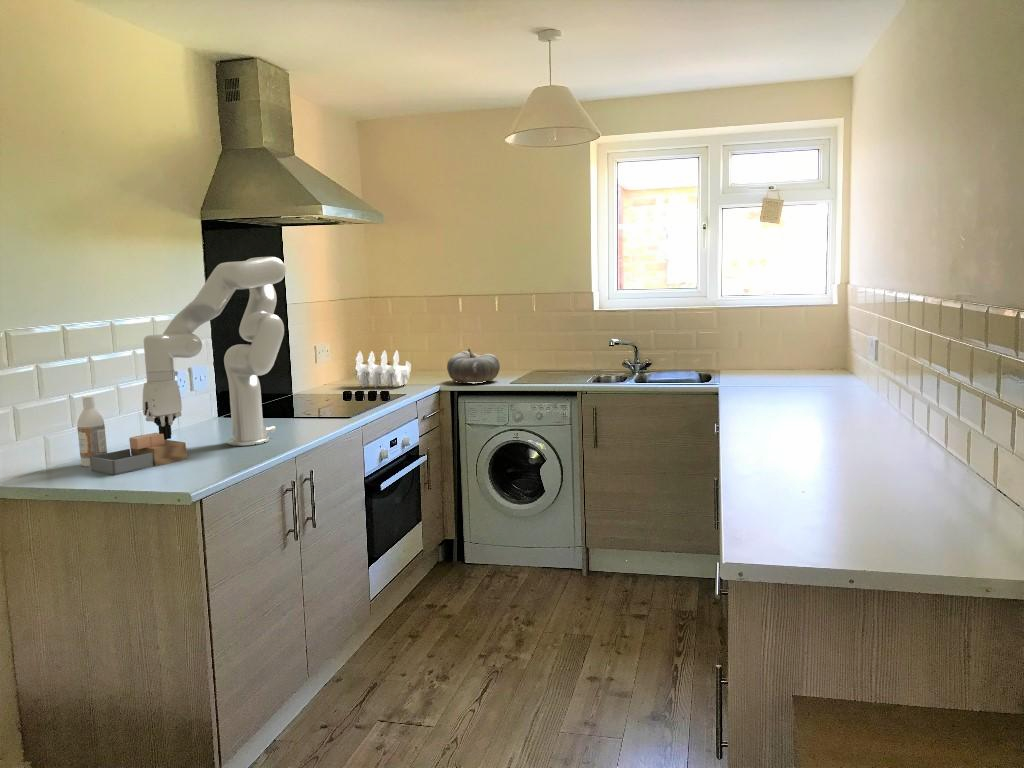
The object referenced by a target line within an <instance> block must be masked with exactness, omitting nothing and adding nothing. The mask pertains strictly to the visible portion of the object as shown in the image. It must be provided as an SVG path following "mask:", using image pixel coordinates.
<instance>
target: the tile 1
mask: <svg viewBox="0 0 1024 768" xmlns="http://www.w3.org/2000/svg"><path fill="white" fill-rule="evenodd" d="M145 435H146V436H150V439H151V446H157V445H162V444H164V434H161V433H159V432H153V433H147V434H145Z"/></svg>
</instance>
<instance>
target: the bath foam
mask: <svg viewBox="0 0 1024 768" xmlns="http://www.w3.org/2000/svg"><path fill="white" fill-rule="evenodd" d="M82 407H83V410H82V411H81V413H80V415H79V417H78V419H77V425H76V426H77V428H76V429H77V436H78V437H77V438H78V446H79V447H78V449H79V455H80V457H79V458H80V462H81V463H80V464H81V466H82V467H85V468H86V467H90V468H91V465H90V456H95V455H100V454H105V453H108V447H107V437H106V436H107V435H106V424H105V421H104V419H103V416H102V415H101V413H100V412H99V411H98V410H97V409H96V406H95V397H94V395H84V396H82Z"/></svg>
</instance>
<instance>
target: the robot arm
mask: <svg viewBox="0 0 1024 768" xmlns="http://www.w3.org/2000/svg"><path fill="white" fill-rule="evenodd" d="M286 272H287V270H286V265H285V264H284V261H282V260H281V259H280V258H279V257H276V256H260V257H259V256H257V257H251V258H248V259H247V260H242V261H227V262H221V263H219V264H217V265H216V267H215V268H214V269H213V270H212V272H211V273H210V275H209V276H208V278H207V279H206V281H205V282H204V283H203V286H202V287H201V288H200V290H199V291H198V293H197V295H196V296H195V297H194V299H193V300H191V302H190V303H188V304H187V305H186V306H185V307H184V308H183V309H182V310H180V311H179V312H178V313H177V314H176V315H175V316H174V317H173V318H172V320H171V321H170V322H169V324H168V325H167V326H166V328H165V330H164V332H163V333H162V334H152V335H150V334H148V335H146V336H145V337H144V338H143V350H144V352H143V353H144V362H145V375H146V382H144V383H143V389H142V414H143V416H146V417H145V421H146V422H152V423H154V424H155V425H156V426H158V433H161V434H164V439H165V440H172V425H173V424H174V421H175V420H176V419H177V418H179V417H181V416H182V409H183V407H182V406H183V405H182V396H181V391H180V387H179V384H178V381H177V379H176V376H177V377H178V371H175V364H174V359H175V358H180V359H181V358H182V359H183V358H184V359H189V358H193V357H196V356H198V355H199V354H200V352H201V351H202V349H203V343H202V339H201V338H200V337H199V336H198V335H196V334H194V332H195V330H197V329H198V328H199V327H201V326H202V325H204V324H205V323H208V322H209V321H211V320H213V319H215V318H216V317H218V316H220V315H221V313H222V312H223V310H224V309H225V307H226V305H228V302H229V301H230V299H231V298H232V296H233V294H234V293H235V292H236V290H249V297H248V298H249V299H248V302H247V305H246V308H245V310H244V313H243V316H242V318H241V321H240V325H239V328H238V333H239V336H240V337H241V339H243V340H244V341H246V342H250V343H251V344H244V343H243V344H242V343H241V344H235V345H232V346H230V347H229V348H228V349H227V350H226V352H225V354H224V357H223V363H224V369H225V372H226V376H227V382H228V389H229V390H228V391H229V405H230V416H231V417H230V418H231V428H232V430H231V432H232V437H231V438H230V439H228V440H227V443H228V445H230V446H235V447H236V446H237V447H240V446H241V447H245V446H255V444H256V445H261V444H265V443H267V442H269V441H270V436H269V435H268V434H270V433H271V434H272V433H274V432H276V431H277V428H276V426H274V425H272V426H269V427H267V426H266V425H264V419H263V418H264V417H263V406H262V405H263V404H262V391H261V390H262V389H261V388H262V387H261V383H260V379H259V377H260V376H263V375H266V374H268V373H269V372H270V371H271V370H272V368H273V367H274V365H275V361H276V360H277V356H278V353H279V351H280V348H281V345H282V342H283V338H284V336H285V325H284V322H283V320H282V319H281V317H279V315H277V314H274V313H275V310H276V306H277V301H278V299H277V293H276V289H275V287H274V285H275V284H277V283H280V282H281V281H283V279H284V278H285V275H286V274H287V273H286ZM258 376H259V377H258ZM264 442H265V443H264Z"/></svg>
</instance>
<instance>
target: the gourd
mask: <svg viewBox="0 0 1024 768" xmlns="http://www.w3.org/2000/svg"><path fill="white" fill-rule="evenodd" d="M446 365H447V366H446V367H447V368H446V369H447V374H448V376H449V377H450V378H451V380H452V381H454V382H455V381H457V382H483V381H489V382H491V381H493V380H494V379H496V378H497V377H498V374H499V372H500V370H501V369H500V367H501V365H500V361H499V359H498V356H497V355H495V354H491V353H485V354H483V355H480V354H477V353H474V352H473V351H471V349H470V348H467V351H466V350H463V351H461V352H459V353H456V354H453V355H452V356H451V357H450V358H449V359H448V361H447V364H446ZM490 380H491V381H490ZM457 382H456V383H457Z"/></svg>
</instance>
